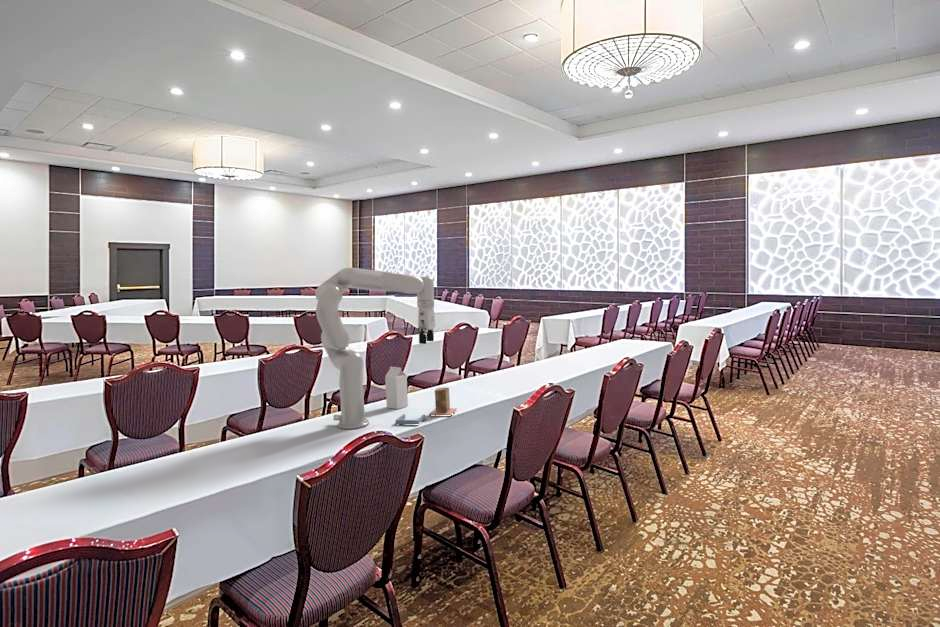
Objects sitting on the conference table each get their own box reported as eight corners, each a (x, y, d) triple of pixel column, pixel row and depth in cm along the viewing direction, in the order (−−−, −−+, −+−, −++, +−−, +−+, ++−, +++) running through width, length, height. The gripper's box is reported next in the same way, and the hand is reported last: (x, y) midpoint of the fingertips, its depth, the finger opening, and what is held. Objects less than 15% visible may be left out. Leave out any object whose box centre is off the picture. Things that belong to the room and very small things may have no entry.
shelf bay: (395, 424, 224) (395, 420, 223) (403, 418, 232) (403, 414, 232) (418, 425, 221) (418, 420, 221) (425, 419, 230) (425, 414, 230)
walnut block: (435, 412, 237) (434, 390, 236) (439, 409, 241) (438, 387, 241) (446, 412, 235) (445, 390, 235) (449, 409, 240) (448, 387, 239)
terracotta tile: (429, 416, 235) (428, 413, 235) (435, 410, 245) (435, 408, 244) (451, 416, 233) (451, 414, 232) (456, 410, 242) (456, 408, 242)
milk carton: (397, 409, 248) (395, 369, 247) (386, 407, 252) (384, 367, 251) (408, 406, 254) (406, 366, 252) (397, 404, 258) (395, 365, 257)
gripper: (427, 305, 231) (428, 344, 232) (439, 303, 248) (440, 340, 249) (410, 305, 233) (411, 344, 234) (424, 303, 250) (425, 340, 251)
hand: (426, 342), depth 242 cm, fingers open, 9 cm apart
